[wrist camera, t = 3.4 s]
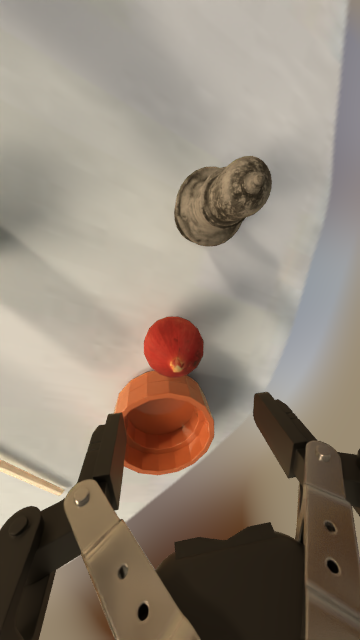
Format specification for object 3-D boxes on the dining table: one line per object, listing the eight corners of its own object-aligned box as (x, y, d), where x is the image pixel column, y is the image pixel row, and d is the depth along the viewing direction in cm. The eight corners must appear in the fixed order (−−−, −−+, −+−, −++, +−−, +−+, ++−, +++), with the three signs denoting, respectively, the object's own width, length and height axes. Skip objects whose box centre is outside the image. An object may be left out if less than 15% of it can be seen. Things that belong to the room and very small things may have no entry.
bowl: (109, 373, 25) (100, 402, 20) (202, 361, 26) (213, 386, 22) (123, 444, 29) (119, 482, 24) (204, 431, 30) (214, 465, 25)
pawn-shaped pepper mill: (158, 211, 20) (170, 168, 9) (204, 164, 19) (280, 53, 8) (198, 258, 22) (248, 271, 11) (241, 217, 21) (343, 186, 10)
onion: (203, 318, 24) (227, 351, 17) (182, 360, 26) (196, 407, 18) (156, 299, 23) (159, 326, 16) (137, 345, 24) (131, 389, 17)
